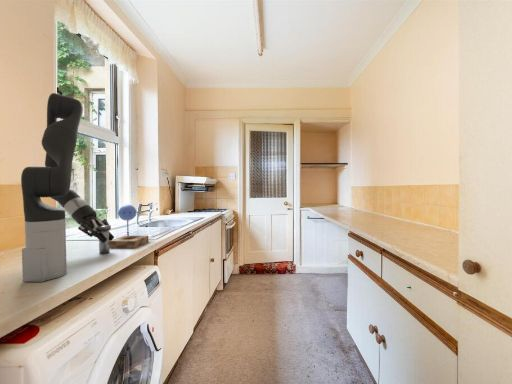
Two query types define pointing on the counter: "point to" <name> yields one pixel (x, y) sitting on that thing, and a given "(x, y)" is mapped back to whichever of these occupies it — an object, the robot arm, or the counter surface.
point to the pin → (105, 246)
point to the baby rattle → (127, 213)
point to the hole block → (128, 241)
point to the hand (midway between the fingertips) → (108, 240)
